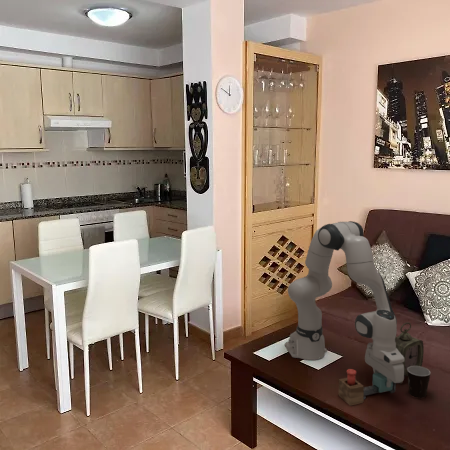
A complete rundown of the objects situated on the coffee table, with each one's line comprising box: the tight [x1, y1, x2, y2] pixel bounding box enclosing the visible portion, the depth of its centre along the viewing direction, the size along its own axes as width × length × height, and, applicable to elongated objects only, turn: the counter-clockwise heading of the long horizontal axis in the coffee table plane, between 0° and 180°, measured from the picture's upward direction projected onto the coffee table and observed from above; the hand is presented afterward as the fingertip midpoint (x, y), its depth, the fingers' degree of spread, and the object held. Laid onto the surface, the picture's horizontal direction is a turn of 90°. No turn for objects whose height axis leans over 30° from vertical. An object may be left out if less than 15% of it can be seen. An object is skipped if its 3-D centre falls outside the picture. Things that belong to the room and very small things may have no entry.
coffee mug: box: [407, 366, 431, 399], centre depth 185 cm, size 12×9×10 cm
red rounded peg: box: [346, 368, 357, 386], centre depth 183 cm, size 4×4×6 cm
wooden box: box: [338, 377, 365, 407], centre depth 184 cm, size 8×6×7 cm
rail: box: [363, 382, 397, 400], centre depth 188 cm, size 4×17×6 cm, turn 109°
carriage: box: [372, 372, 393, 394], centre depth 189 cm, size 5×6×6 cm
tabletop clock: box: [395, 322, 425, 384], centre depth 199 cm, size 14×9×25 cm, turn 123°
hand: (382, 382), depth 189 cm, fingers closed on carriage, 5 cm apart
